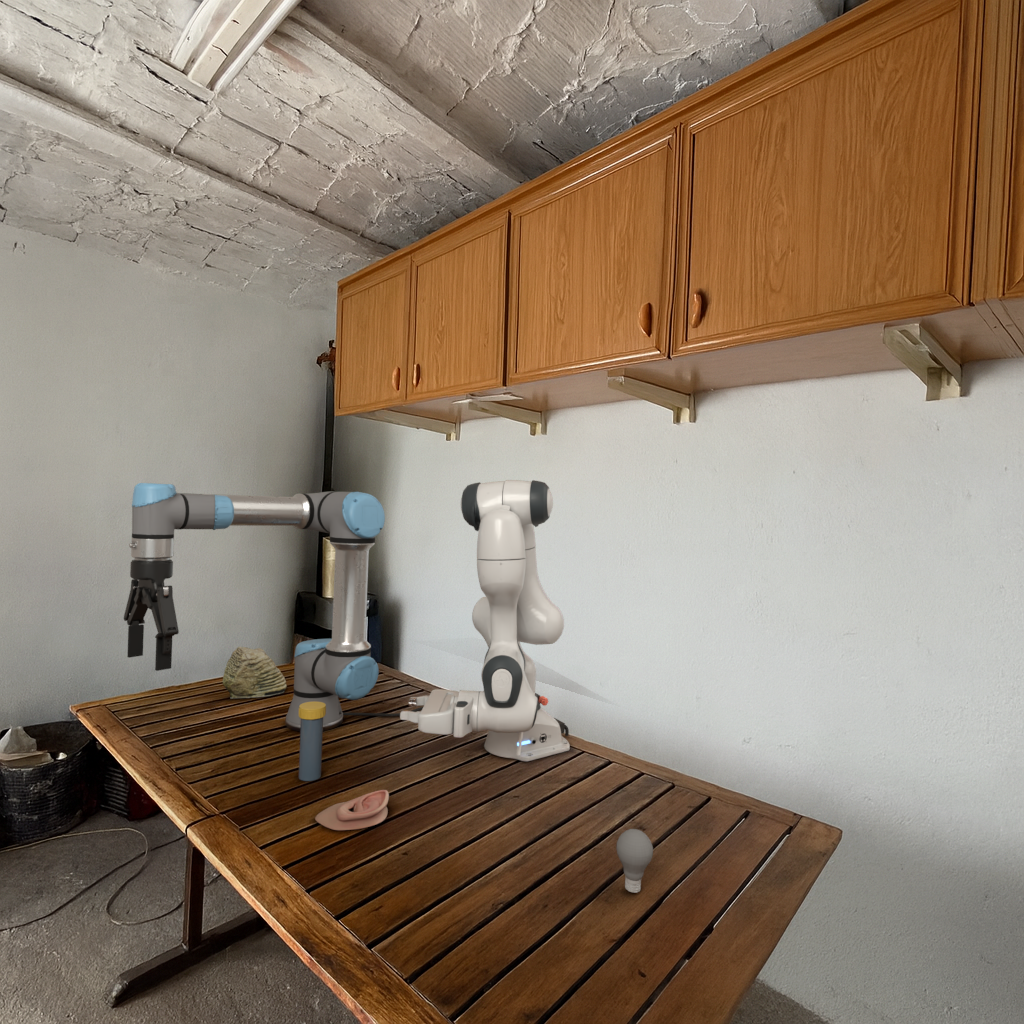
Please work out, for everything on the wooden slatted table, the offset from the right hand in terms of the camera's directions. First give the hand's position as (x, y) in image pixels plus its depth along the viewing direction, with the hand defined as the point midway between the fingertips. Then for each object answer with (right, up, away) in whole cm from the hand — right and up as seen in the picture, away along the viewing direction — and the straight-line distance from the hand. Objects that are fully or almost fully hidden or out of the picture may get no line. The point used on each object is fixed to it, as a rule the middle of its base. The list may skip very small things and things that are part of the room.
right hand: (405, 707), depth 144 cm
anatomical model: (-7, -16, -18) cm, 25 cm away
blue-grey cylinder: (-21, -15, 0) cm, 26 cm away
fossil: (-56, -13, +54) cm, 79 cm away
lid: (-21, 0, -1) cm, 21 cm away
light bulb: (+44, -19, -38) cm, 61 cm away
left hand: (-50, +14, -14) cm, 54 cm away
